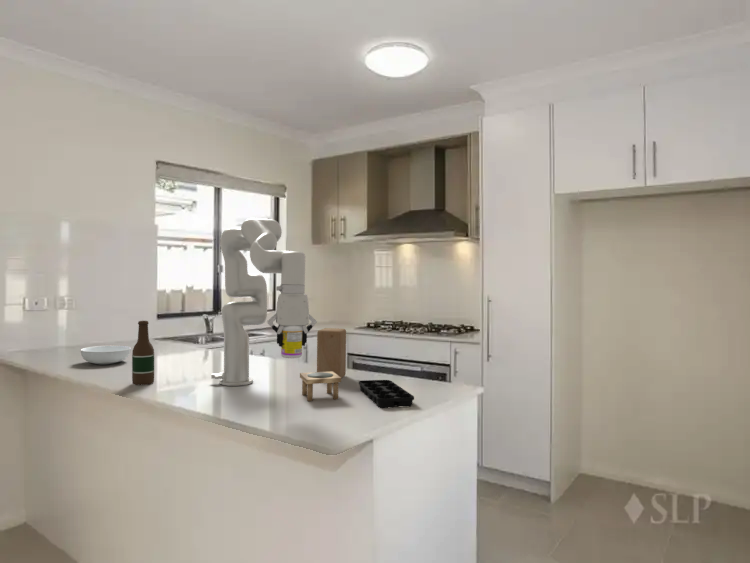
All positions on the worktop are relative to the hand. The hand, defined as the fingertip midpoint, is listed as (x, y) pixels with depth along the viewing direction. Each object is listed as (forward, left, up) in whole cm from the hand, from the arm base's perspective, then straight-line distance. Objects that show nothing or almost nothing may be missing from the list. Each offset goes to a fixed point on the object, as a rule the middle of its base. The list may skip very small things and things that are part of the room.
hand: (291, 345), depth 171 cm
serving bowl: (-68, +104, -20) cm, 125 cm away
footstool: (+12, +12, -20) cm, 26 cm away
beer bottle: (-48, +52, -20) cm, 73 cm away
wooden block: (+24, +43, -20) cm, 53 cm away
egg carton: (+34, +5, -21) cm, 40 cm away
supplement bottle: (0, 0, -4) cm, 4 cm away
